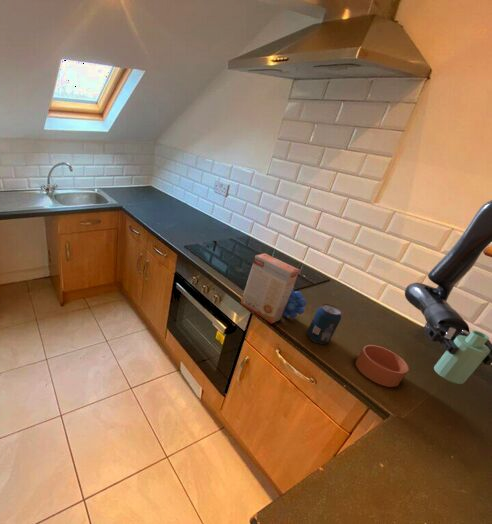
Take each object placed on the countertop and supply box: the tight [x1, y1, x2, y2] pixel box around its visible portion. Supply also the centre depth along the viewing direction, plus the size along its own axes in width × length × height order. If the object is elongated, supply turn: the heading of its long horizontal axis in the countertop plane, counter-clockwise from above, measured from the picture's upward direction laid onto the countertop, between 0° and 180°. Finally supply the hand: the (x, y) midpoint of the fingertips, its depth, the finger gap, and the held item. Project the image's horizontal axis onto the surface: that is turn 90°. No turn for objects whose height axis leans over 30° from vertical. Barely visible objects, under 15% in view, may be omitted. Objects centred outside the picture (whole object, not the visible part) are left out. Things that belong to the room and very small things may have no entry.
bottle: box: [433, 330, 490, 385], centre depth 78 cm, size 6×6×14 cm
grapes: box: [282, 288, 307, 319], centre depth 107 cm, size 12×7×12 cm, turn 77°
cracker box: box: [240, 253, 301, 325], centre depth 107 cm, size 14×6×21 cm, turn 33°
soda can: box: [307, 303, 342, 345], centre depth 98 cm, size 7×7×12 cm
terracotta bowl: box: [355, 344, 410, 388], centre depth 88 cm, size 11×11×6 cm
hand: (471, 356), depth 75 cm, fingers closed on bottle, 6 cm apart
